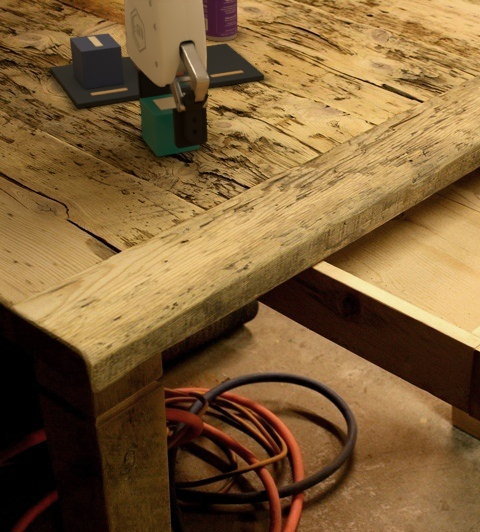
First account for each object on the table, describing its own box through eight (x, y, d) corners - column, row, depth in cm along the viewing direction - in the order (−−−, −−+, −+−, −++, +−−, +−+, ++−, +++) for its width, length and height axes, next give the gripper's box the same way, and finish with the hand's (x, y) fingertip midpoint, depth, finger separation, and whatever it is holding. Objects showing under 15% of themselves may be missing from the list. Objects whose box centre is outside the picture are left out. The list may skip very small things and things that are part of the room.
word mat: (78, 109, 99) (77, 102, 99) (50, 71, 107) (49, 66, 107) (264, 79, 109) (264, 74, 109) (226, 47, 117) (226, 42, 116)
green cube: (157, 157, 91) (155, 115, 89) (142, 138, 94) (139, 97, 92) (199, 149, 93) (198, 107, 91) (183, 131, 96) (181, 91, 94)
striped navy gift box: (85, 89, 102) (81, 50, 100) (73, 75, 105) (69, 36, 103) (124, 84, 104) (121, 45, 102) (111, 69, 107) (108, 32, 105)
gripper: (91, -70, 88) (108, 97, 97) (156, -16, 76) (168, 169, 85) (167, -77, 91) (176, 86, 101) (240, -26, 79) (243, 154, 89)
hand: (172, 124), depth 93 cm, fingers open, 9 cm apart
